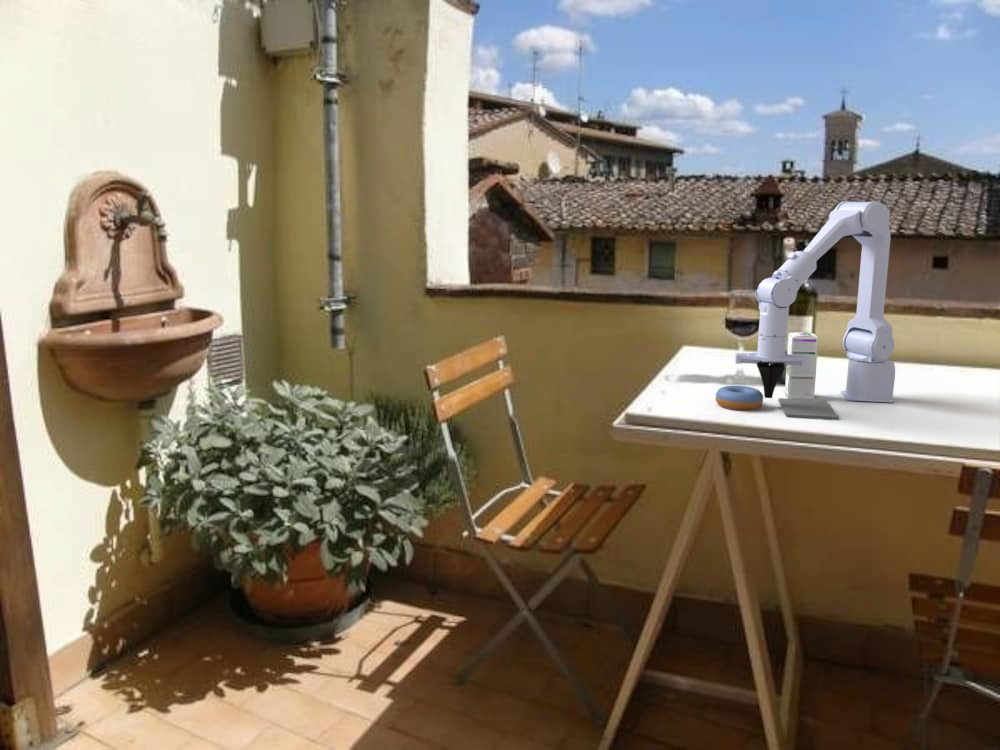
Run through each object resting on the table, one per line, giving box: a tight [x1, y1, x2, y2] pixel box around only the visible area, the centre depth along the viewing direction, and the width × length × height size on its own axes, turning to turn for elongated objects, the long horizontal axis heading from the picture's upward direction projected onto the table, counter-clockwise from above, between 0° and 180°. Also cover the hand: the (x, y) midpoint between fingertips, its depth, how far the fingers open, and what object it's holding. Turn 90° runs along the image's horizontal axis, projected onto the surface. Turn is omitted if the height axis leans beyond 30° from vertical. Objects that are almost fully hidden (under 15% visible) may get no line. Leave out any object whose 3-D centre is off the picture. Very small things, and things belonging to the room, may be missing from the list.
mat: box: [777, 397, 839, 420], centre depth 168 cm, size 10×14×1 cm
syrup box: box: [784, 331, 819, 400], centre depth 178 cm, size 6×6×14 cm
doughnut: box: [715, 385, 764, 411], centre depth 171 cm, size 10×10×5 cm
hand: (768, 397), depth 170 cm, fingers closed
